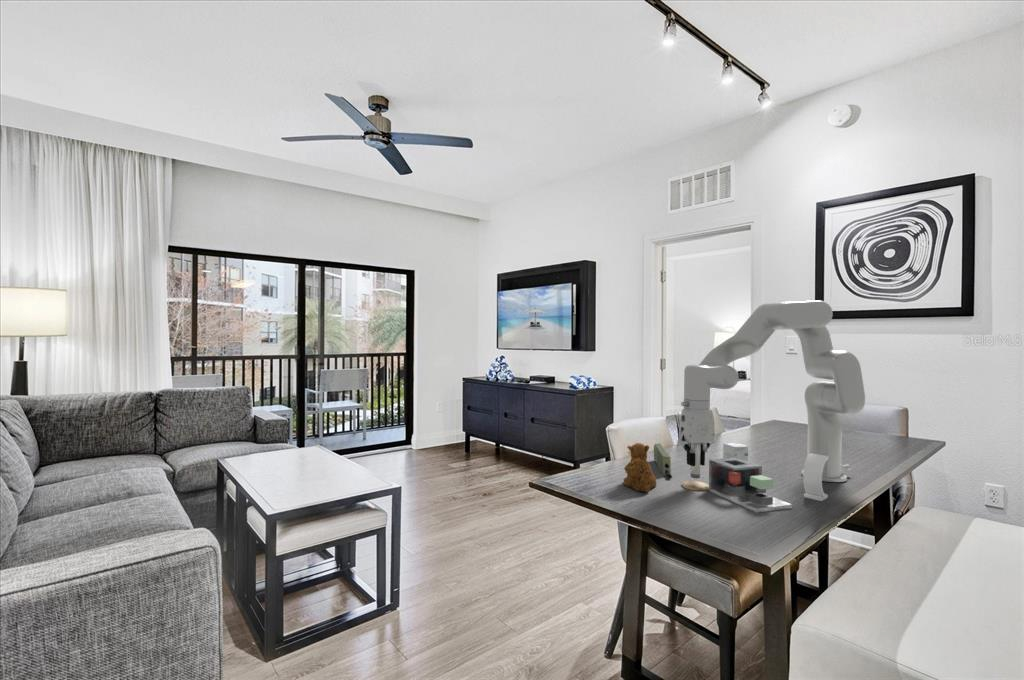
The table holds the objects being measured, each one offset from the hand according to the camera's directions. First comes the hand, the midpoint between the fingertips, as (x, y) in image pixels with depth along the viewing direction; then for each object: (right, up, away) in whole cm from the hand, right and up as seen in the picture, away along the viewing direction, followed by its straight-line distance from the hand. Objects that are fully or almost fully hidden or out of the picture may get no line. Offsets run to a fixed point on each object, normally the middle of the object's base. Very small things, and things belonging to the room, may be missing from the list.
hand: (695, 464), depth 150 cm
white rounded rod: (0, -4, 0) cm, 4 cm away
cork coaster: (0, -7, 0) cm, 7 cm away
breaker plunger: (+9, -5, -6) cm, 12 cm away
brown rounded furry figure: (-17, -7, -1) cm, 19 cm away
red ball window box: (+11, -7, -10) cm, 16 cm away
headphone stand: (+31, -8, -9) cm, 33 cm away
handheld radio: (-4, -7, +20) cm, 21 cm away
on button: (+12, -4, -15) cm, 20 cm away
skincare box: (+24, -7, +26) cm, 37 cm away
